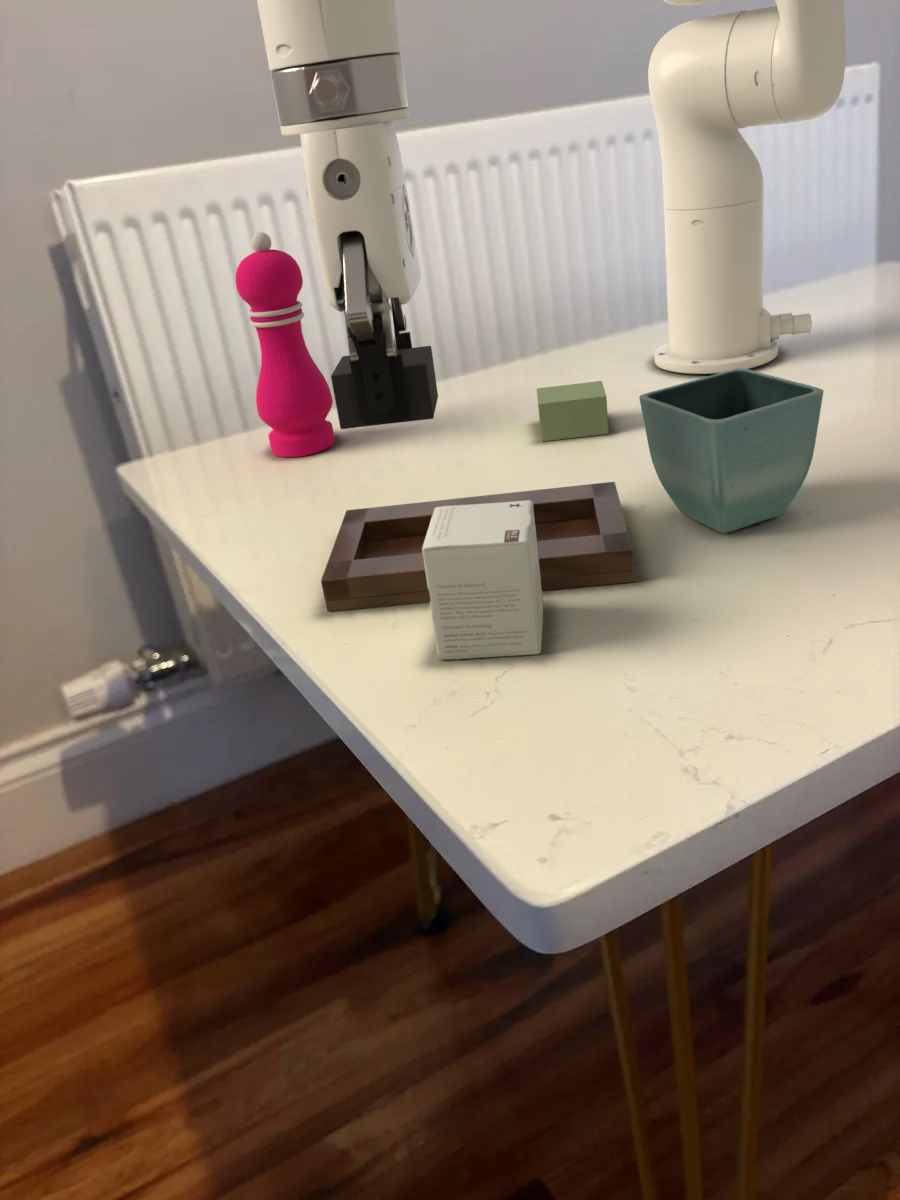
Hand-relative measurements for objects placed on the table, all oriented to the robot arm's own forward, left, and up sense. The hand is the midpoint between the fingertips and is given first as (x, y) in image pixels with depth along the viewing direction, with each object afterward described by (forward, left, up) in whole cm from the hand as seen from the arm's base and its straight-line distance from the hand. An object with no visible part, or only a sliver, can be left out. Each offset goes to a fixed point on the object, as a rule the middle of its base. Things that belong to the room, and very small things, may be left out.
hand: (390, 403), depth 67 cm
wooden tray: (-5, 0, -12) cm, 12 cm away
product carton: (-6, +11, -12) cm, 17 cm away
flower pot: (-22, -3, -12) cm, 25 cm away
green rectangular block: (-13, -26, -12) cm, 31 cm away
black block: (0, 0, -1) cm, 1 cm away
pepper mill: (+13, -30, -12) cm, 35 cm away
